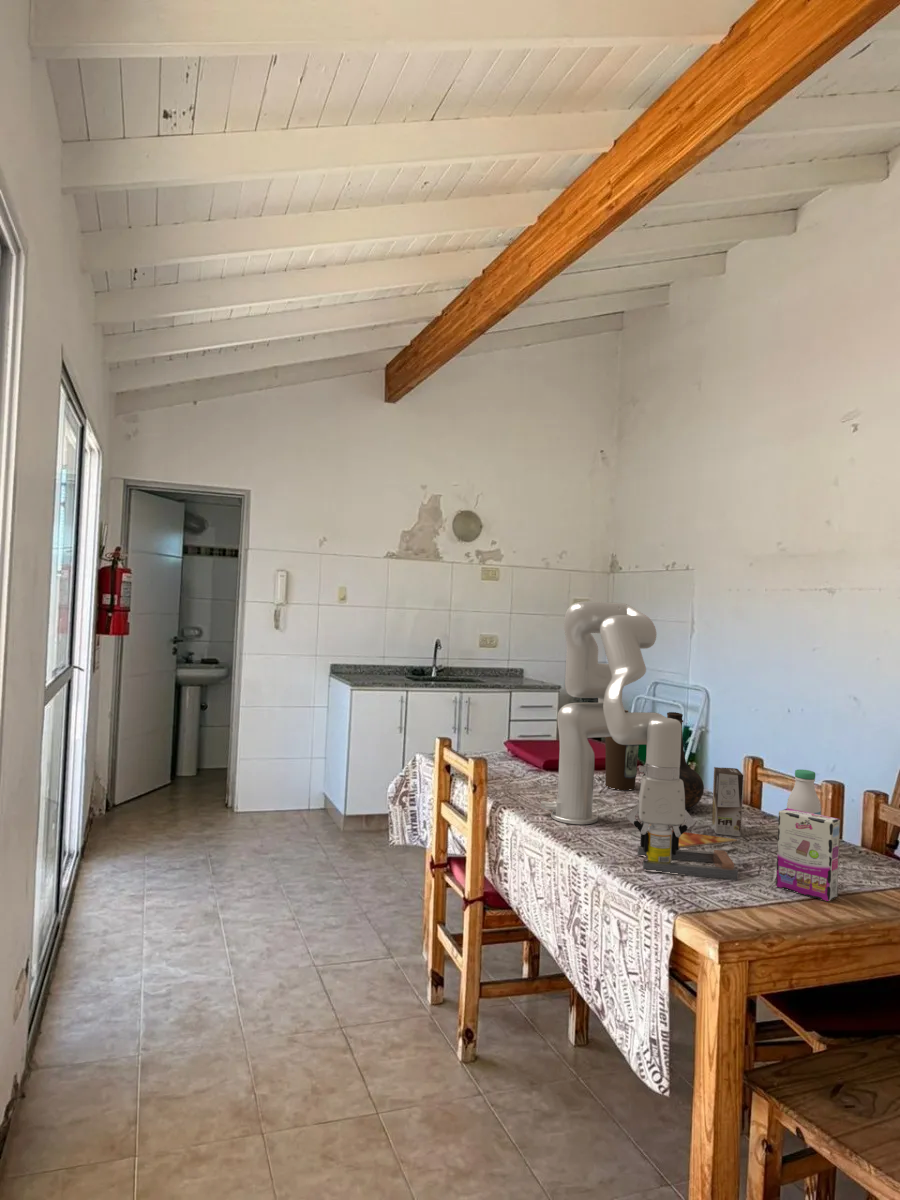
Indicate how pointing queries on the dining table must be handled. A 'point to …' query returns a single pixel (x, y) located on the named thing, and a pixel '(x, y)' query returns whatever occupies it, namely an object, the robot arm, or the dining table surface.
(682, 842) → the pizza slice
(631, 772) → the olive oil
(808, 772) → the milk bottle
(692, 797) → the dark brown vase
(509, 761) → the dining table surface
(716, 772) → the coffee box
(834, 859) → the candy bar box
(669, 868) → the frame
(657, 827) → the supplement bottle
